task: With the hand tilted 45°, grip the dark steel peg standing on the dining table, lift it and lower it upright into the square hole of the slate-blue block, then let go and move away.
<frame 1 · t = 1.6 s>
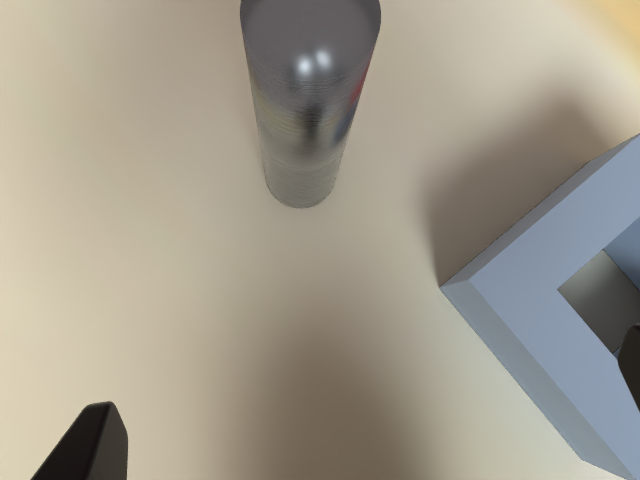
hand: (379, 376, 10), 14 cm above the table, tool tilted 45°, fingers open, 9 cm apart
hole block: (585, 304, 24), on the table
peg: (300, 174, 24), on the table
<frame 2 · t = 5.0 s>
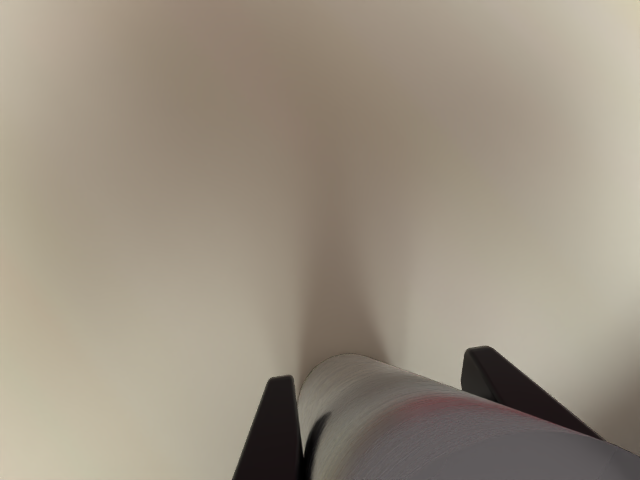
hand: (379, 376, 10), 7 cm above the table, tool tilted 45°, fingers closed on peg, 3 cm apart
peg: (350, 407, 16), on the table, touching gripper
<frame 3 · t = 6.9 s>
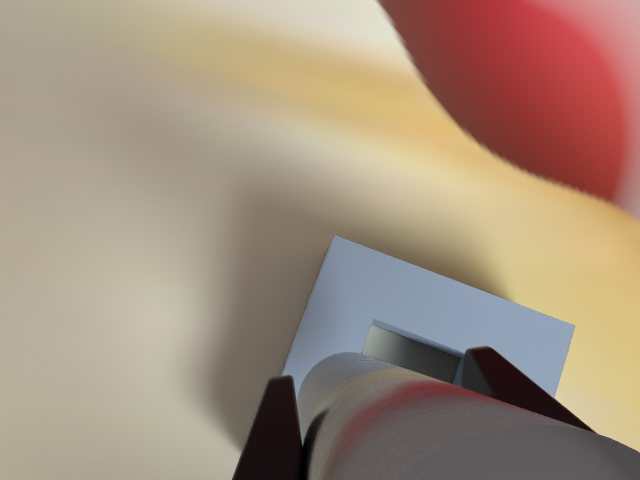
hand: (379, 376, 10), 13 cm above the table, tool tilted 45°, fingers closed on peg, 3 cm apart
hole block: (392, 391, 23), on the table
peg: (349, 405, 16), point 7 cm above the table, touching gripper
when the fingers open (8 cm above the table, at t = 9.1 s): peg drops 1 cm, resting in hole block.
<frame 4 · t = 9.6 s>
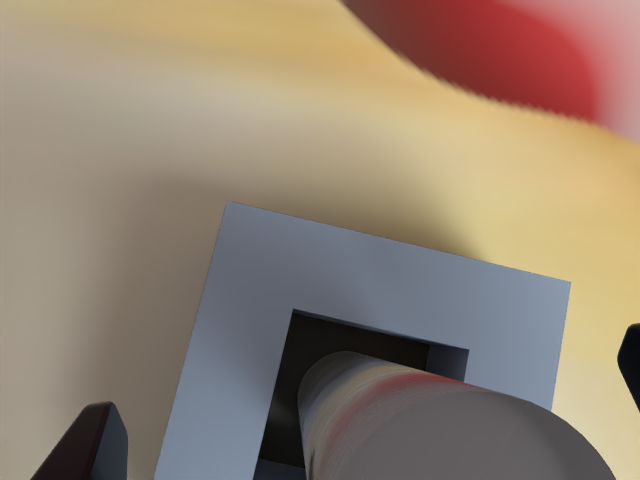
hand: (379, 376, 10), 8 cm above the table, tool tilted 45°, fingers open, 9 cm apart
hole block: (345, 400, 17), on the table
peg: (345, 400, 17), resting in hole block
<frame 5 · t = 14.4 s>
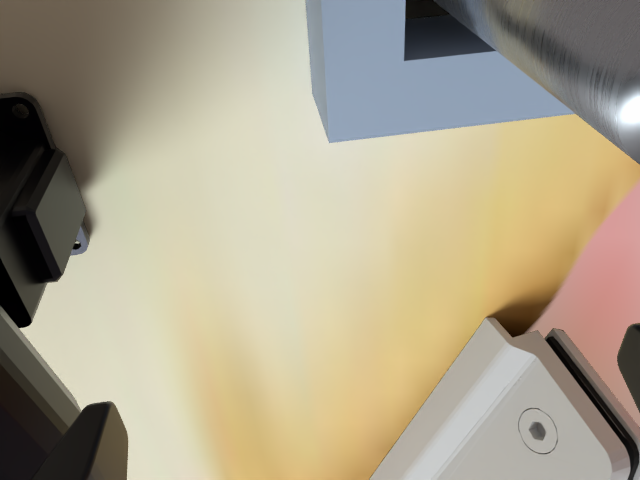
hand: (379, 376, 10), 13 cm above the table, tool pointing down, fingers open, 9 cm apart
hinge: (468, 418, 34), on the table
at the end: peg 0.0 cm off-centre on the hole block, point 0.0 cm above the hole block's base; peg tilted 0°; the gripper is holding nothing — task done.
